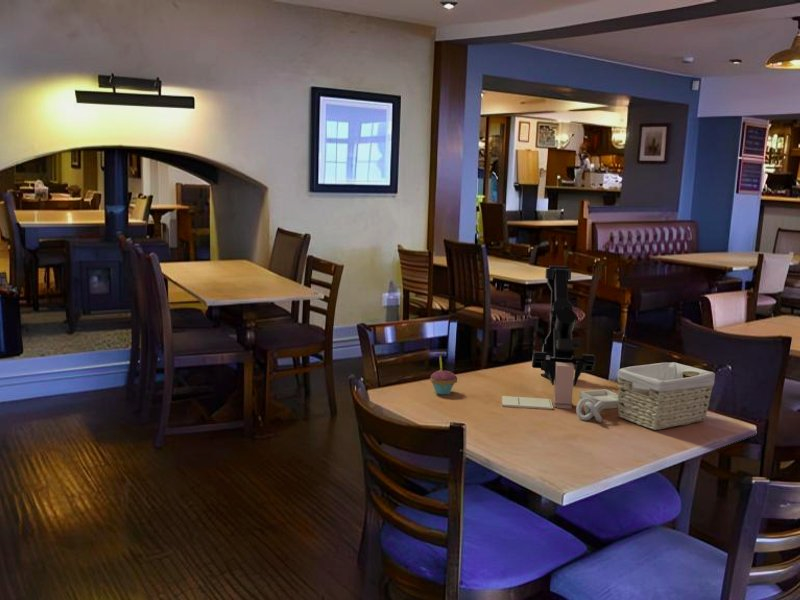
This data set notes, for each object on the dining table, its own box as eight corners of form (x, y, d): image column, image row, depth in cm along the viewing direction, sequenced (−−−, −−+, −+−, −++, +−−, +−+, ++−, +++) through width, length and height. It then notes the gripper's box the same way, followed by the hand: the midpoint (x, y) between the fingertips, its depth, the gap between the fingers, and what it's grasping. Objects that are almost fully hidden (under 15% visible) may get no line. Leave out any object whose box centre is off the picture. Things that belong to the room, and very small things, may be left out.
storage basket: (667, 406, 217) (671, 359, 215) (713, 422, 203) (718, 372, 201) (611, 417, 205) (615, 367, 203) (656, 434, 191) (661, 381, 189)
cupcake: (424, 391, 226) (425, 355, 224) (442, 387, 231) (444, 351, 230) (443, 398, 219) (444, 360, 218) (462, 393, 225) (463, 356, 223)
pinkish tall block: (553, 403, 217) (555, 361, 215) (569, 404, 217) (572, 362, 215) (554, 407, 213) (556, 365, 211) (571, 408, 212) (574, 366, 210)
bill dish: (579, 397, 224) (579, 391, 223) (606, 395, 227) (606, 389, 227) (601, 409, 212) (602, 402, 212) (629, 406, 216) (630, 400, 215)
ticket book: (502, 397, 221) (502, 395, 221) (550, 400, 220) (550, 398, 219) (502, 406, 213) (502, 404, 212) (553, 409, 211) (553, 407, 211)
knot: (610, 424, 199) (611, 404, 198) (582, 424, 198) (584, 404, 197) (600, 416, 206) (601, 396, 205) (573, 416, 205) (575, 396, 204)
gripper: (534, 325, 216) (534, 369, 207) (597, 329, 214) (600, 373, 205) (531, 345, 225) (531, 388, 216) (591, 348, 223) (594, 392, 214)
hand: (564, 385), depth 212 cm, fingers open, 6 cm apart
